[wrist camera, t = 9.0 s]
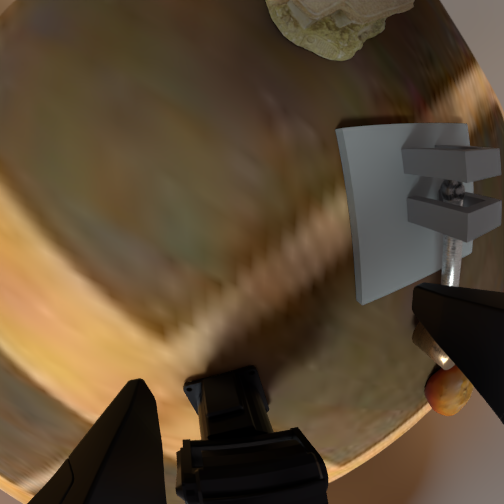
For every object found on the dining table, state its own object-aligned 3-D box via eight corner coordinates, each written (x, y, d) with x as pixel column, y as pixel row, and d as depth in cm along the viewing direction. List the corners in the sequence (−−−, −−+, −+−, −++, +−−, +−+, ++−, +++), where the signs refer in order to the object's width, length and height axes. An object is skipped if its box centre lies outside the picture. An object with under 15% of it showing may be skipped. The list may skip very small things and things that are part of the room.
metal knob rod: (433, 335, 26) (462, 359, 21) (410, 349, 25) (439, 376, 20) (440, 171, 20) (486, 178, 15) (415, 176, 19) (463, 184, 14)
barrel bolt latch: (465, 250, 25) (514, 272, 18) (356, 300, 23) (410, 346, 16) (459, 123, 20) (517, 125, 13) (335, 129, 18) (405, 118, 11)
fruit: (413, 417, 31) (448, 429, 24) (410, 372, 33) (448, 378, 25) (447, 396, 33) (481, 402, 25) (445, 353, 34) (481, 354, 27)
